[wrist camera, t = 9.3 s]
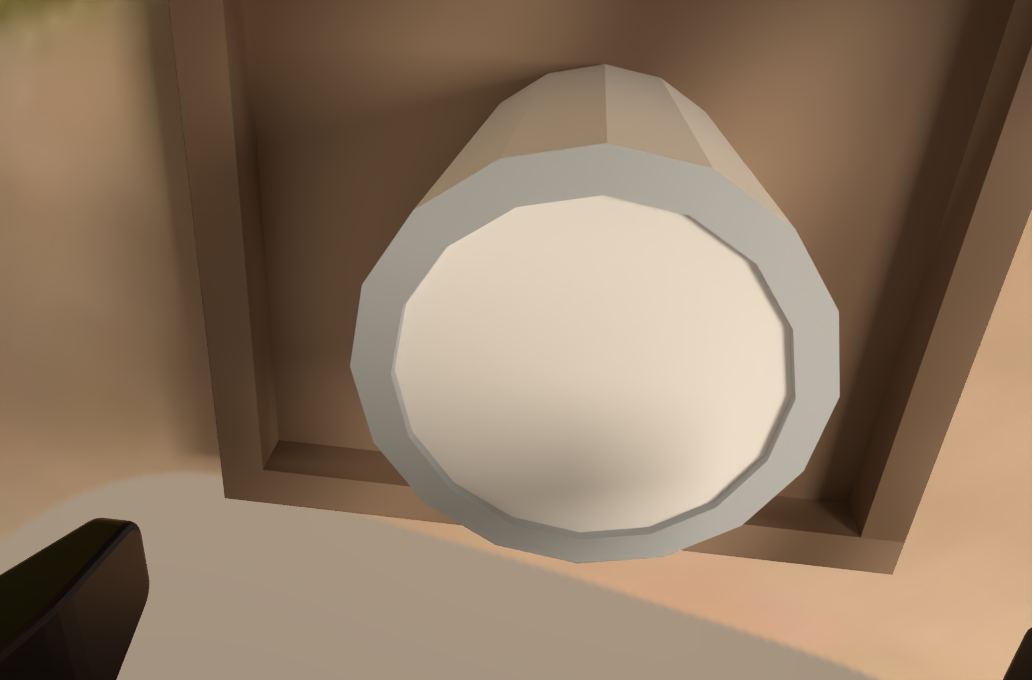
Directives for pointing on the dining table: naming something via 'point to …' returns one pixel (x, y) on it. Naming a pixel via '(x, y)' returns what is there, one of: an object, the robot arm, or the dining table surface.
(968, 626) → the dining table surface
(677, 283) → the shot glass
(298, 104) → the walnut tray
